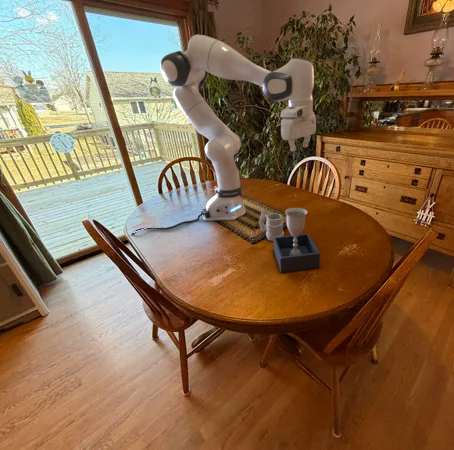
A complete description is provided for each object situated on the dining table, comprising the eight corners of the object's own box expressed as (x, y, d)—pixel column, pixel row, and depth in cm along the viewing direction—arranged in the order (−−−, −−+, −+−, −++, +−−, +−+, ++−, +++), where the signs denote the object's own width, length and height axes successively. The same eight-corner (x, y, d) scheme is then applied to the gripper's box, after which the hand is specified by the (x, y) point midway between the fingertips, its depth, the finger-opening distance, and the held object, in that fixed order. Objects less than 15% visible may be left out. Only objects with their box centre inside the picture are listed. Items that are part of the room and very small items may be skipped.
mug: (277, 243, 96) (276, 217, 91) (254, 235, 103) (253, 210, 97) (287, 235, 102) (287, 210, 96) (265, 228, 108) (264, 204, 102)
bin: (280, 272, 80) (280, 258, 78) (273, 250, 92) (273, 237, 89) (319, 267, 82) (320, 253, 79) (307, 246, 94) (308, 233, 91)
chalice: (306, 252, 88) (308, 208, 80) (303, 263, 83) (304, 217, 74) (287, 249, 91) (287, 206, 82) (283, 259, 85) (282, 215, 77)
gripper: (306, 109, 97) (305, 144, 103) (277, 112, 83) (278, 152, 89) (320, 108, 93) (318, 145, 100) (293, 112, 79) (292, 154, 86)
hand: (299, 149), depth 95 cm, fingers open, 8 cm apart
